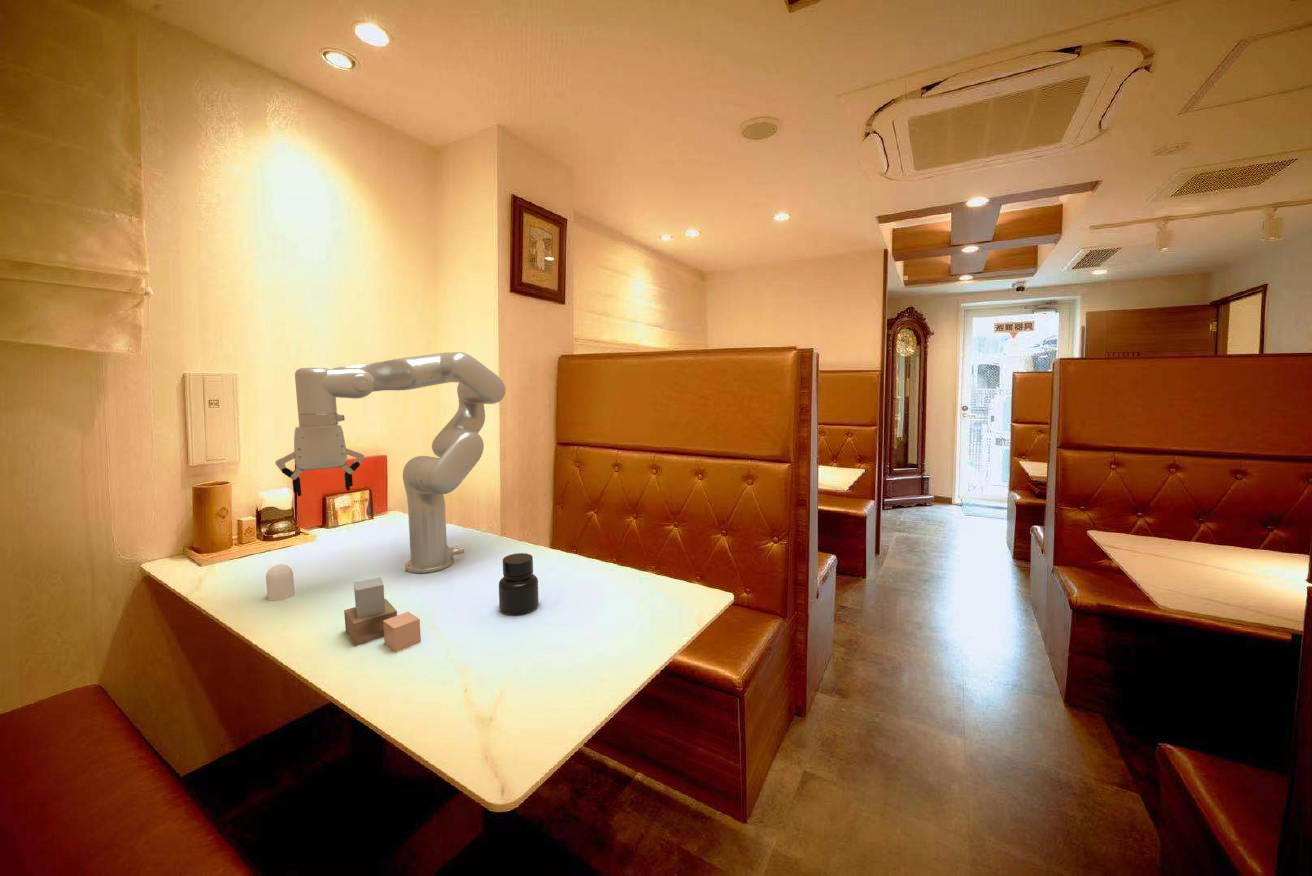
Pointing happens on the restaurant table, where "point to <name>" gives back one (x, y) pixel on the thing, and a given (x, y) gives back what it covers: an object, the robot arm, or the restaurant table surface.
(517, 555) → the ink bottle
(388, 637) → the terracotta cube
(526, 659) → the restaurant table surface
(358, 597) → the grey block
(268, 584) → the capsule
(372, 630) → the walnut block
